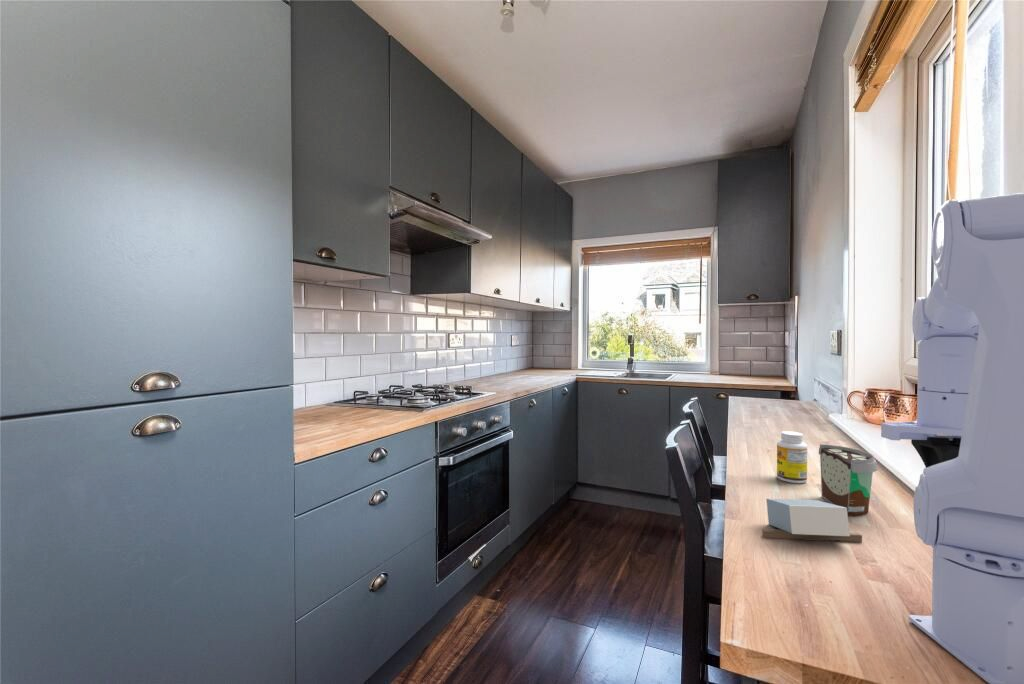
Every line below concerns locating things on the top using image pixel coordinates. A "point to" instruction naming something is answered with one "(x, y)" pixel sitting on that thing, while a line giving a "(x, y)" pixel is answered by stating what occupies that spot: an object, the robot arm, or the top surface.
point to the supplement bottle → (792, 458)
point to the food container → (847, 477)
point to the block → (808, 517)
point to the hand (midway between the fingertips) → (946, 496)
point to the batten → (809, 536)
